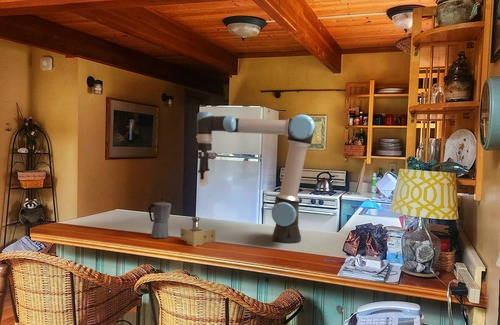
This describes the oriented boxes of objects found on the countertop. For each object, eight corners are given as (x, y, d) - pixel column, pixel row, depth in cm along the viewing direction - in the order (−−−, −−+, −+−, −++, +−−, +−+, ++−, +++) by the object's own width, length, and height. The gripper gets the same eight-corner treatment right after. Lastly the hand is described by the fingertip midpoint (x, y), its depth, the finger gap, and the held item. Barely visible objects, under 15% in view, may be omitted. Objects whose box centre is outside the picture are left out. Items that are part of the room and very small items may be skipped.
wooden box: (217, 242, 201) (218, 228, 201) (193, 246, 191) (193, 231, 191) (200, 236, 212) (200, 223, 212) (176, 240, 202) (176, 226, 202)
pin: (200, 244, 195) (200, 218, 194) (193, 245, 193) (194, 218, 192) (195, 243, 198) (196, 216, 197) (189, 244, 195) (190, 217, 195)
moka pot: (176, 235, 212) (177, 198, 211) (155, 241, 199) (156, 201, 198) (163, 233, 217) (163, 196, 216) (141, 238, 204) (142, 199, 203)
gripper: (199, 143, 216) (199, 182, 217) (193, 142, 191) (193, 186, 192) (213, 143, 216) (213, 182, 217) (209, 142, 191) (208, 187, 192)
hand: (203, 184), depth 204 cm, fingers open, 13 cm apart
